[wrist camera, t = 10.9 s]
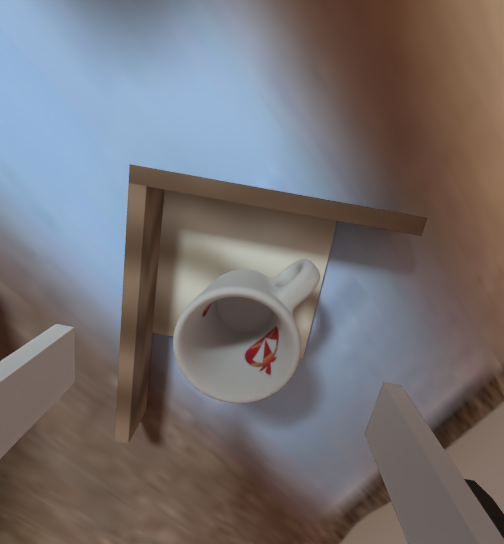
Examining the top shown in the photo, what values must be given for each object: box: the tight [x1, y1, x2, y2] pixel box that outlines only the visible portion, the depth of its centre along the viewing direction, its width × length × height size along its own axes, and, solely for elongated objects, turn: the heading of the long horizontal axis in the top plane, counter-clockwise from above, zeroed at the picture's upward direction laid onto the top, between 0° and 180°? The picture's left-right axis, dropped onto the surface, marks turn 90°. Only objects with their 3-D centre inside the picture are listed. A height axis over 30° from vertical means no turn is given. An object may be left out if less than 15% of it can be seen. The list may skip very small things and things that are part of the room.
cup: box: [173, 259, 320, 403], centre depth 21 cm, size 11×8×8 cm
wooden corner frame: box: [115, 165, 427, 444], centre depth 24 cm, size 23×20×4 cm
